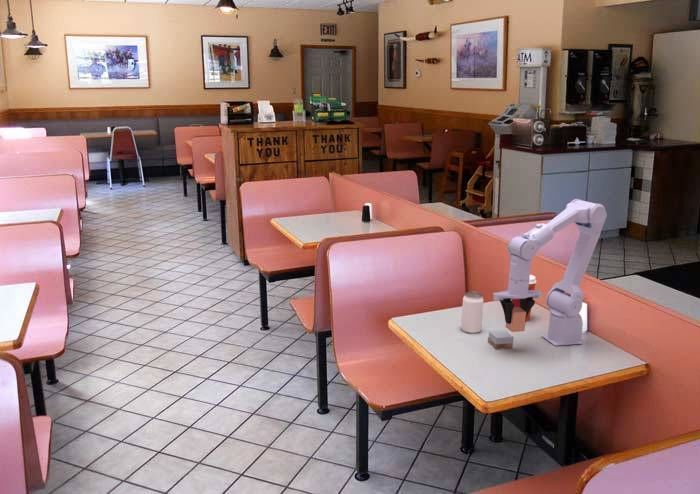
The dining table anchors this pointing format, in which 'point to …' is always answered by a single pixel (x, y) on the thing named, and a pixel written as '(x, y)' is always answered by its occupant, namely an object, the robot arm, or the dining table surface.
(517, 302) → the coffee cup
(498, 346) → the tower lower
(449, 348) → the dining table surface
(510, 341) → the tower upper
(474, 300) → the can
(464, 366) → the dining table surface
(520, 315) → the brick block
